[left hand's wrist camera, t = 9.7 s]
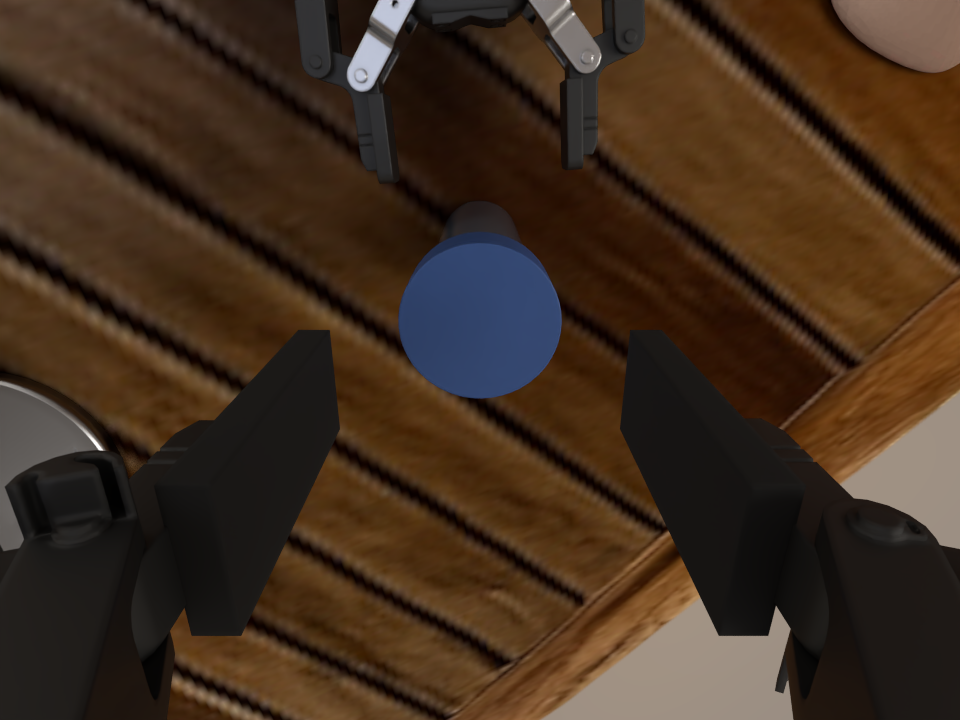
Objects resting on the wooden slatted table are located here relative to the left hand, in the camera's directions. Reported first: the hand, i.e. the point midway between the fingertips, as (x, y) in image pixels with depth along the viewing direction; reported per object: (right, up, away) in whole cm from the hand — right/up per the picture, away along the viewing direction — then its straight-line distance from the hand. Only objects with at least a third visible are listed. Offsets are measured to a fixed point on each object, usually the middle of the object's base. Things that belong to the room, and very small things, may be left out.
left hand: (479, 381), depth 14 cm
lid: (0, +2, +5) cm, 5 cm away
